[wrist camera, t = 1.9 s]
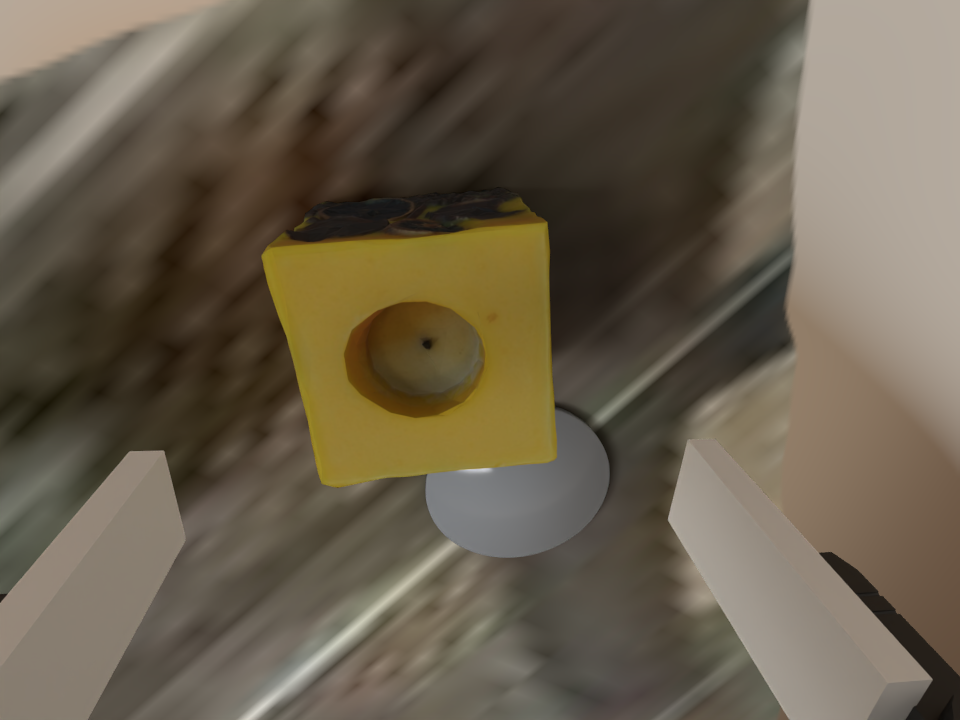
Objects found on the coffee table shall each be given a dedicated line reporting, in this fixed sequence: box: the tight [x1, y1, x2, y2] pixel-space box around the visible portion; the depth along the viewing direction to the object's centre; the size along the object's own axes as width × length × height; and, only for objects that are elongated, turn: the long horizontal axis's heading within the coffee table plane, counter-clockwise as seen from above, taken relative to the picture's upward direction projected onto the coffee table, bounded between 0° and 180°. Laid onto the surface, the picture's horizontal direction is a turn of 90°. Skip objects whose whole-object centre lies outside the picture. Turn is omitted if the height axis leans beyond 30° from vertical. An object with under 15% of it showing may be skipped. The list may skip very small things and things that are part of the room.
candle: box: [262, 188, 557, 488], centre depth 24 cm, size 10×10×10 cm
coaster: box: [425, 407, 610, 558], centre depth 34 cm, size 12×12×1 cm
